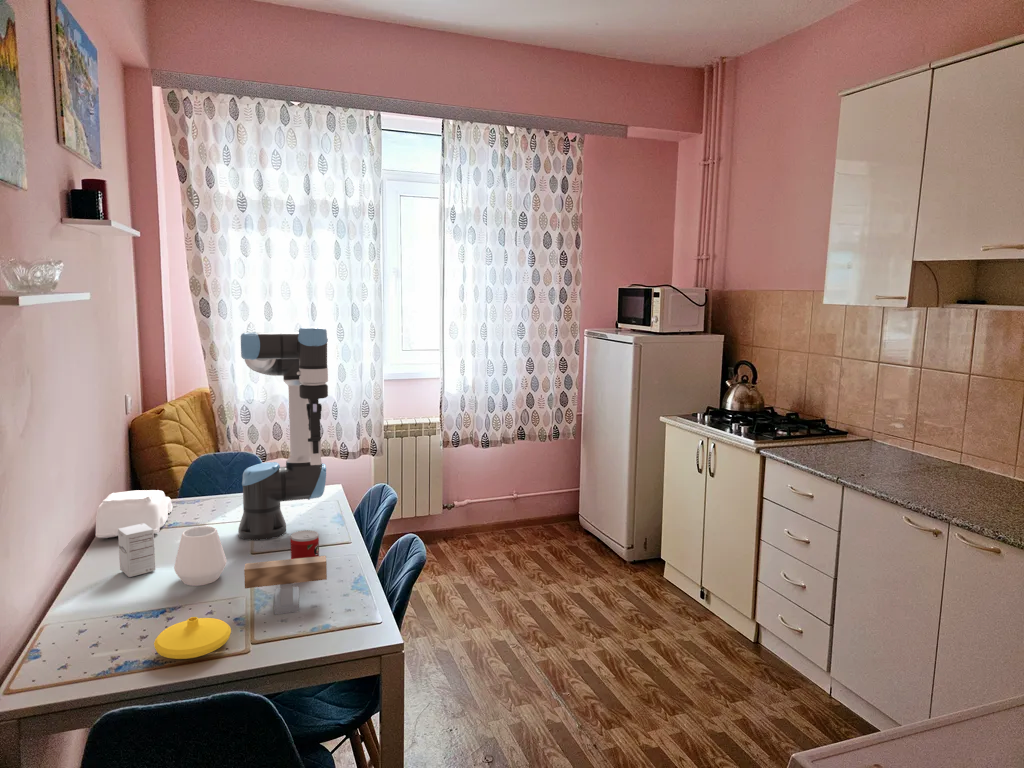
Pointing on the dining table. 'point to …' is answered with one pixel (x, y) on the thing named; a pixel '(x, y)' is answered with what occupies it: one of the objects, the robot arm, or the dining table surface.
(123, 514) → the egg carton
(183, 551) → the white planter pot
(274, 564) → the slat
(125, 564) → the supplement box
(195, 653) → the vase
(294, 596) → the ridge
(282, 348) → the robot arm
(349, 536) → the dining table surface
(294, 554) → the canned food
